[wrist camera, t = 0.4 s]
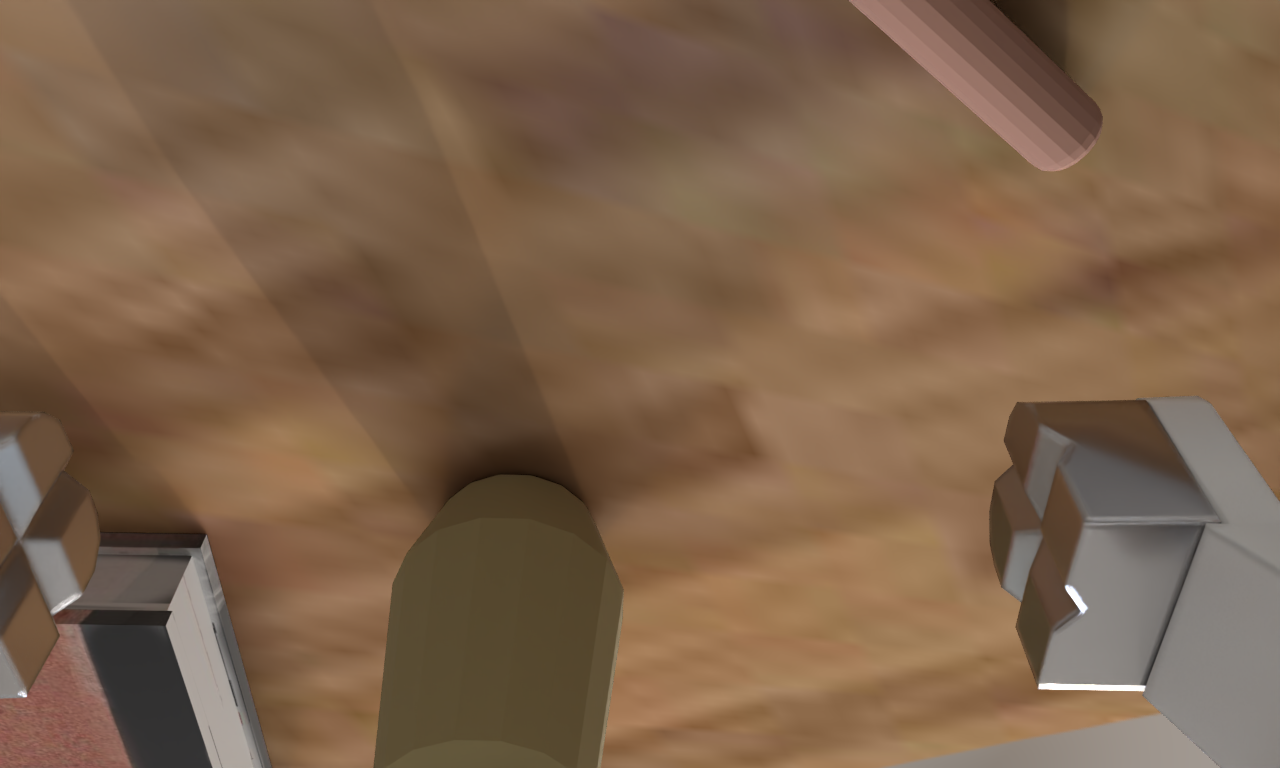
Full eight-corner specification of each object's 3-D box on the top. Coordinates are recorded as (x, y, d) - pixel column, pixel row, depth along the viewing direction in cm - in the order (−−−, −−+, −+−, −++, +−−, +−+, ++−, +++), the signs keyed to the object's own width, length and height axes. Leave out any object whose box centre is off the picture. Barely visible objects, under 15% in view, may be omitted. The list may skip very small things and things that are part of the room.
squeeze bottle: (648, 468, 41) (653, 976, 26) (601, 619, 45) (582, 1121, 31) (423, 427, 40) (296, 933, 25) (398, 585, 44) (279, 1090, 30)
